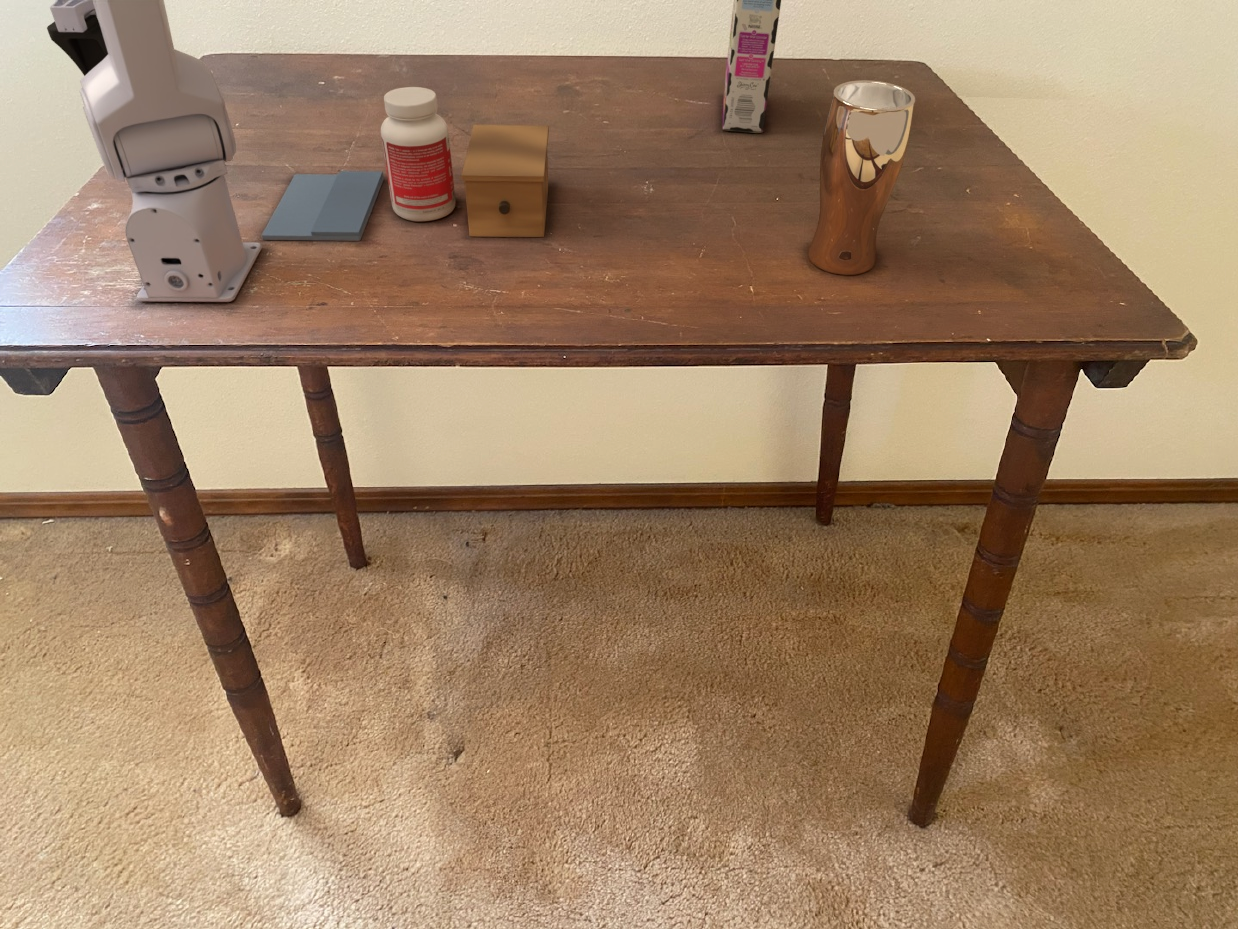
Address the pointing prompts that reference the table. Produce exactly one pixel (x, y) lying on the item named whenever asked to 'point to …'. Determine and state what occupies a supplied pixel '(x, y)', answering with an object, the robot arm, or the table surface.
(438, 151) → the pill bottle
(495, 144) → the birch box
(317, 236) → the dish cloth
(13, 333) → the table surface
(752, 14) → the candy bar box
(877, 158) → the beer glass
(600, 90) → the table surface
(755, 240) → the table surface
